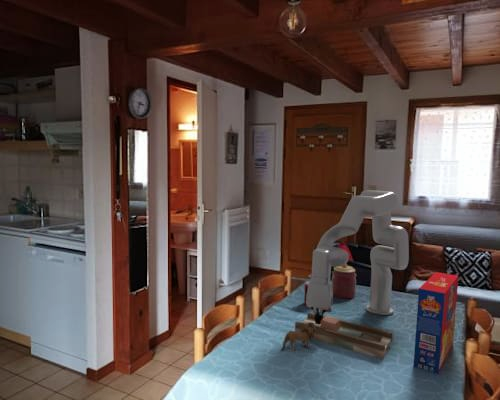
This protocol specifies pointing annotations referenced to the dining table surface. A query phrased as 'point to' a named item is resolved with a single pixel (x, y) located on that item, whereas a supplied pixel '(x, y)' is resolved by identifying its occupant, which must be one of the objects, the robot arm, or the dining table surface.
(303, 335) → the lion figurine
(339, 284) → the canister
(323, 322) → the block
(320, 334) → the channel board
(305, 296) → the canned food
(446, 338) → the pasta box
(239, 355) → the dining table surface
